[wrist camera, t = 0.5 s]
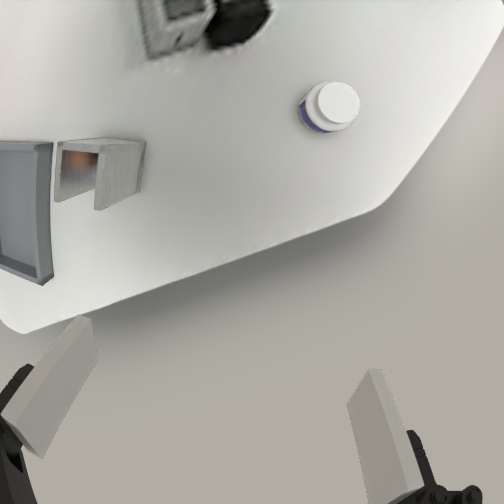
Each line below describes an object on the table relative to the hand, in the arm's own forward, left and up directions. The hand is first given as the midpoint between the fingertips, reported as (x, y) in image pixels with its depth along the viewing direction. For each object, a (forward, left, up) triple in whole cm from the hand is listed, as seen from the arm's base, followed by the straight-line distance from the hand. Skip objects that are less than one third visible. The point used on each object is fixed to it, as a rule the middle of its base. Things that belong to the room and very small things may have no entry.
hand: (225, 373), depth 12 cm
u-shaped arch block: (-4, -18, -25) cm, 31 cm away
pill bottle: (-15, +5, -25) cm, 30 cm away
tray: (+5, -38, -25) cm, 46 cm away
